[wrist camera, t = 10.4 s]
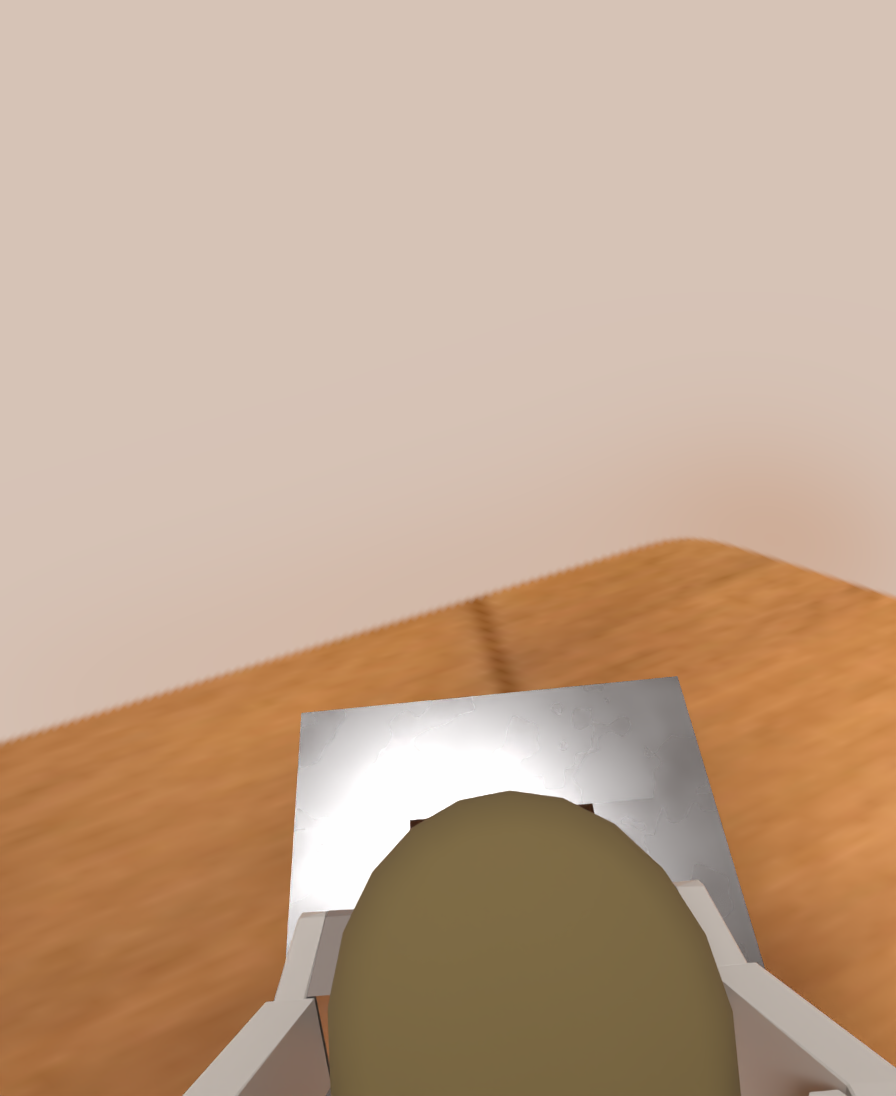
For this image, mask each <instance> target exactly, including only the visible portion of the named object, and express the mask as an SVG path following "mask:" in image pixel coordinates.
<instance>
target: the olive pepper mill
mask: <svg viewBox="0 0 896 1096" xmlns="http://www.w3.org/2000/svg"><path fill="white" fill-rule="evenodd" d="M328 1038H329V1063H330V1089H331V1096H741V1090H740V1080H739V1070H738V1059H737V1049H736V1039H735V1029H734V1019H733V1011H732V1008H731V1005H730V1002H729V999H728V996H727V994H726V991H725V988H724V985H723V982H722V979H721V976H720V973H719V971H718V968H717V965H716V962H715V959H714V956H713V953H712V951H711V948H710V945H709V942H708V939H707V936H706V934H705V932H704V931H703V929H702V928H701V926H700V924H699V923H698V921H697V920H696V918H695V917H694V915H693V914H692V912H691V910H690V909H689V907H688V906H687V904H686V903H685V901H684V900H683V898H682V896H681V895H680V893H679V892H678V890H677V889H676V887H675V886H674V884H673V883H672V881H671V879H670V878H669V876H668V875H667V873H666V872H665V871H664V869H663V868H662V867H661V866H660V865H659V864H658V863H657V862H656V861H655V860H653V859H652V858H651V857H650V856H649V855H648V854H647V853H646V852H645V851H644V850H643V849H642V848H640V847H639V846H638V845H637V844H636V843H635V842H634V841H633V840H632V839H631V838H630V837H628V836H627V835H626V834H625V833H624V832H623V831H622V830H621V829H620V828H619V827H618V826H617V825H615V824H614V823H612V822H610V821H608V820H606V819H604V818H602V817H600V816H598V815H596V814H594V813H592V812H590V811H588V810H586V809H584V808H582V807H580V806H578V805H576V804H574V803H572V802H570V801H568V800H566V799H564V798H560V797H553V796H546V795H539V794H533V793H526V792H519V791H512V790H508V791H503V792H498V793H493V794H488V795H483V796H478V797H473V798H467V799H462V800H458V801H457V802H455V803H453V804H451V805H450V806H448V807H446V808H445V809H443V810H441V811H439V812H438V813H436V814H434V815H433V816H431V817H429V818H427V819H426V820H424V821H422V822H421V823H419V824H417V825H415V826H414V827H412V828H411V829H410V830H409V831H408V832H407V834H406V835H405V836H404V837H403V838H402V839H401V840H400V841H399V843H398V844H397V845H396V846H395V847H394V848H393V849H392V850H391V851H390V853H389V854H388V855H387V856H386V857H385V858H384V859H383V860H382V861H381V863H380V864H379V865H378V866H377V867H376V868H375V869H374V870H373V872H372V873H371V875H370V877H369V879H368V881H367V884H366V886H365V888H364V890H363V892H362V894H361V896H360V898H359V900H358V902H357V904H356V906H355V908H354V910H353V912H352V914H351V916H350V919H349V921H348V923H347V925H346V927H345V929H344V931H343V934H342V939H341V944H340V949H339V954H338V959H337V964H336V969H335V974H334V978H333V983H332V988H331V993H330V998H329V1003H328Z"/></svg>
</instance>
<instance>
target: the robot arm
mask: <svg viewBox="0 0 896 1096" xmlns="http://www.w3.org/2000/svg"><path fill="white" fill-rule="evenodd" d="M672 883H673V884H674V886H675V887H676V889H677V890H678V892H679V893H680V895H681V896H682V898H683V900H684V901H685V903H686V904H687V906H688V907H689V909H690V910H691V912H692V914H693V915H694V917H695V918H696V920H697V921H698V923H699V924H700V926H701V928H702V929H703V931H704V932H705V934H706V936H707V939H708V942H709V945H710V948H711V951H712V953H713V956H714V959H715V962H716V965H717V968H718V971H719V973H720V976H721V979H722V982H723V985H724V988H725V991H726V994H727V996H728V999H729V1002H730V1005H731V1008H732V1011H733V1019H734V1029H735V1039H736V1049H737V1059H738V1070H739V1080H740V1090H741V1096H896V1068H895V1067H894V1066H893V1065H891V1064H890V1063H889V1062H887V1061H886V1060H885V1059H883V1058H882V1057H881V1056H879V1055H878V1054H877V1053H875V1052H874V1051H873V1050H871V1049H870V1048H869V1047H867V1046H866V1045H865V1044H863V1043H862V1042H861V1041H859V1040H858V1039H857V1038H855V1037H854V1036H853V1035H851V1034H850V1033H849V1032H848V1031H846V1030H845V1029H844V1028H842V1027H841V1026H840V1025H838V1024H837V1023H836V1022H834V1021H833V1020H832V1019H830V1018H829V1017H828V1016H826V1015H825V1014H824V1013H822V1012H821V1011H820V1010H818V1009H817V1008H816V1007H814V1006H813V1005H812V1004H810V1003H809V1002H808V1001H806V1000H805V999H804V998H802V997H801V996H800V995H798V994H797V993H796V992H794V991H793V990H792V989H791V988H789V987H788V986H787V985H785V984H784V983H783V982H781V981H780V980H779V979H777V978H776V977H775V976H773V975H772V974H771V973H769V972H768V971H767V970H765V969H764V968H763V967H761V966H760V965H759V964H757V963H747V961H746V960H745V958H744V956H743V954H742V952H741V951H740V949H739V947H738V945H737V943H736V942H735V940H734V938H733V936H732V935H731V933H730V931H729V929H728V927H727V926H726V924H725V922H724V920H723V918H722V917H721V915H720V913H719V911H718V909H717V908H716V906H715V904H714V902H713V901H712V899H711V897H710V895H709V893H708V892H707V890H706V888H705V886H704V884H703V883H701V882H700V881H699V880H691V881H680V882H672ZM353 910H354V909H347V910H329V911H320V912H302V914H301V916H300V917H299V919H298V921H297V924H296V927H295V930H294V934H293V937H292V941H291V944H290V948H289V951H288V954H287V958H286V961H285V965H284V968H283V971H282V975H281V978H280V982H279V985H278V989H277V992H276V995H275V999H274V1001H270V1002H265V1003H264V1004H263V1006H262V1007H261V1008H260V1009H259V1010H258V1011H257V1012H256V1013H255V1015H254V1016H253V1017H252V1018H251V1019H250V1020H249V1021H248V1022H247V1024H246V1025H245V1026H244V1027H243V1028H242V1029H241V1030H240V1031H239V1033H238V1034H237V1035H236V1036H235V1037H234V1038H233V1039H232V1040H231V1042H230V1043H229V1044H228V1045H227V1046H226V1047H225V1048H224V1049H223V1051H222V1052H221V1053H220V1054H219V1055H218V1056H217V1057H216V1058H215V1060H214V1061H213V1062H212V1063H211V1064H210V1065H209V1066H208V1067H207V1069H206V1070H205V1071H204V1072H203V1073H202V1074H201V1075H200V1077H199V1078H198V1079H197V1080H196V1081H195V1082H194V1083H193V1084H192V1086H191V1087H190V1088H189V1089H188V1090H187V1091H186V1092H185V1093H184V1095H183V1096H326V1094H327V1092H328V1091H329V1089H330V1063H329V1038H328V1003H329V998H330V993H331V988H332V983H333V978H334V974H335V969H336V964H337V959H338V954H339V949H340V944H341V939H342V934H343V931H344V929H345V927H346V925H347V923H348V921H349V919H350V916H351V914H352V912H353Z"/></svg>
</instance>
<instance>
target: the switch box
mask: <svg viewBox="0 0 896 1096" xmlns="http://www.w3.org/2000/svg"><path fill="white" fill-rule="evenodd" d="M508 790H512V791H519V792H526V793H533V794H539V795H546V796H553V797H560V798H564V799H566V800H568V801H570V802H572V803H574V804H576V805H578V806H580V807H582V808H584V809H586V810H588V811H590V812H592V813H594V814H596V815H598V816H600V817H602V818H604V819H606V820H608V821H610V822H612V823H614V824H615V825H617V826H618V827H619V828H620V829H621V830H622V831H623V832H624V833H625V834H626V835H627V836H628V837H630V838H631V839H632V840H633V841H634V842H635V843H636V844H637V845H638V846H639V847H640V848H642V849H643V850H644V851H645V852H646V853H647V854H648V855H649V856H650V857H651V858H652V859H653V860H655V861H656V862H657V863H658V864H659V865H660V866H661V867H662V868H663V869H664V871H665V872H666V873H667V875H668V876H669V878H670V879H671V881H672V882H680V881H691V880H699V881H700V882H701V883H703V884H704V886H705V888H706V890H707V892H708V893H709V895H710V897H711V899H712V901H713V902H714V904H715V906H716V908H717V909H718V911H719V913H720V915H721V917H722V918H723V920H724V922H725V924H726V926H727V927H728V929H729V931H730V933H731V935H732V936H733V938H734V940H735V942H736V943H737V945H738V947H739V949H740V951H741V952H742V954H743V956H744V958H745V960H746V961H747V963H757V964H759V965H760V966H761V967H763V968H764V969H765V967H764V964H763V961H762V957H761V954H760V951H759V947H758V944H757V941H756V937H755V934H754V931H753V927H752V924H751V921H750V917H749V914H748V911H747V907H746V904H745V901H744V897H743V894H742V891H741V887H740V884H739V881H738V877H737V874H736V871H735V867H734V864H733V861H732V857H731V854H730V851H729V847H728V844H727V840H726V837H725V834H724V830H723V827H722V824H721V820H720V817H719V814H718V810H717V807H716V804H715V800H714V797H713V794H712V790H711V787H710V784H709V780H708V777H707V774H706V770H705V767H704V764H703V760H702V757H701V754H700V750H699V747H698V744H697V740H696V737H695V734H694V730H693V727H692V724H691V720H690V717H689V714H688V710H687V707H686V704H685V700H684V697H683V694H682V690H681V687H680V684H679V680H678V677H677V676H676V677H666V678H656V679H646V680H635V681H625V682H615V683H605V684H594V685H584V686H574V687H564V688H554V689H543V690H533V691H523V692H513V693H502V694H492V695H482V696H472V697H462V698H451V699H441V700H431V701H421V702H410V703H400V704H390V705H380V706H370V707H359V708H349V709H339V710H329V711H318V712H308V713H302V714H301V730H300V745H299V761H298V777H297V792H296V808H295V824H294V839H293V855H292V871H291V886H290V902H289V918H288V933H287V949H286V958H287V954H288V951H289V948H290V944H291V941H292V937H293V934H294V930H295V927H296V924H297V921H298V919H299V917H300V916H301V914H302V912H320V911H329V910H347V909H354V908H355V906H356V904H357V902H358V900H359V898H360V896H361V894H362V892H363V890H364V888H365V886H366V884H367V881H368V879H369V877H370V875H371V873H372V872H373V870H374V869H375V868H376V867H377V866H378V865H379V864H380V863H381V861H382V860H383V859H384V858H385V857H386V856H387V855H388V854H389V853H390V851H391V850H392V849H393V848H394V847H395V846H396V845H397V844H398V843H399V841H400V840H401V839H402V838H403V837H404V836H405V835H406V834H407V832H408V831H409V830H410V829H411V828H412V827H414V826H415V825H417V824H419V823H421V822H422V821H424V820H426V819H427V818H429V817H431V816H433V815H434V814H436V813H438V812H439V811H441V810H443V809H445V808H446V807H448V806H450V805H451V804H453V803H455V802H457V801H458V800H462V799H467V798H473V797H478V796H483V795H488V794H493V793H498V792H503V791H508ZM326 1096H331V1089H329V1091H328V1092H327V1094H326Z"/></svg>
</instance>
